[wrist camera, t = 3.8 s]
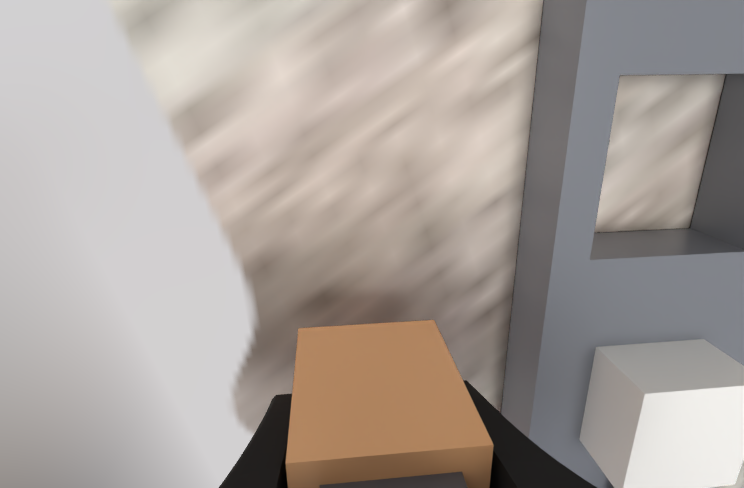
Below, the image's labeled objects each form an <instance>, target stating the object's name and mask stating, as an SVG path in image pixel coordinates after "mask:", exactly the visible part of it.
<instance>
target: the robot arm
mask: <svg viewBox="0 0 744 488" xmlns="http://www.w3.org/2000/svg"><path fill="white" fill-rule="evenodd" d="M463 382H464V384H465V386H466V388H467V390H468V392H469V394H470V396H471V398H472V401H473V403H474V405H475V407H476V409H477V411H478V413H479V415H480V417H481V419H482V422H483V424H484V426H485V428H486V430H487V432H488V434H489V436H490V438H491V440H492V443H493V445H494V446H493V456H492V466H491V476H490V487H489V488H597V487H595V486H594V485H592V484H591V483H589V482H588V481H586V480H584V479H583V478H581V477H580V476H579V475H577V474H576V473H574V472H573V471H571V470H570V469H568V468H567V467H565V466H564V465H563V464H561V463H560V462H558V461H557V460H556V459H554V458H553V457H552V456H550V455H549V454H548V453H546V452H545V451H544V450H543V449H541V448H540V447H539V446H538V445H536V444H535V443H534V442H533V441H531V440H530V439H529V438H528V437H526V436H525V435H524V434H523V433H522V432H521V431H519V430H518V429H517V428H516V427H515V426H514V425H513V424H512V423H511V422H509V421H508V420H507V419H506V418H505V417H504V416H503V415H502V414H501V413H500V412H499V411H497V410H496V409H495V408H494V407H493V406H492V405H491V404H490V403H489V402H488V401H487V400H486V399H485V398H484V397H483V396H482V395H481V394H480V393H479V392H478V391H477V390H476V389H475V388H474V387H473V386H472V385H471V384H469V383H468V382H467V381H463ZM291 401H292V394H284V395H276V396H275V397H274V398H273V399H272V401H271V403H270V406H269V408H268V410H267V412H266V414H265V416H264V418H263V420H262V422H261V423H260V425H259V427H258V429H257V431H256V432H255V434H254V436H253V437H252V439H251V441H250V442H249V444H248V446H247V447H246V449H245V450H244V452H243V454H242V455H241V457H240V458H239V460H238V461H237V463H236V464H235V466H234V467H233V469H232V470H231V471H230V473H229V474H228V476H227V477H226V479H225V480H224V481H223V483H222V484H221V485H220V487H219V488H288V484H287V474H286V453H287V443H288V432H289V422H290V412H291Z"/></svg>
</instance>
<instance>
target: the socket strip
mask: <svg viewBox="0 0 744 488" xmlns="http://www.w3.org/2000/svg"><path fill="white" fill-rule="evenodd" d="M691 74H727V75H726V80H725V84H724V88H723V92H722V96H721V101H720V105H719V109H718V113H717V117H716V122H715V126H714V130H713V134H712V138H711V143H710V147H709V151H708V155H707V159H706V164H705V168H704V172H703V176H702V180H701V185H700V189H699V193H698V197H697V202H696V206H695V210H694V214H693V218H692V223H691V227H690V228H688V229H667V230H646V231H625V232H604V233H594V230H595V224H596V218H597V212H598V206H599V200H600V194H601V188H602V181H603V175H604V169H605V163H606V157H607V151H608V145H609V138H610V132H611V126H612V120H613V114H614V108H615V102H616V95H617V89H618V83H619V77H620V75H691ZM501 414H502V415H503V416H504V417H505V418H506V419H507V420H508V421H509V422H511V423H512V424H513V425H514V426H515V427H516V428H517V429H518V430H519V431H521V432H522V433H523V434H524V435H525V436H526V437H528V438H529V439H530V440H531V441H533V442H534V443H535V444H536V445H538V446H539V447H540V448H541V449H543V450H544V451H545V452H546V453H548V454H549V455H550V456H552V457H553V458H554V459H556V460H557V461H558V462H560V463H561V464H563V465H564V466H565V467H567V468H568V469H570V470H571V471H573V472H574V473H576V474H577V475H579V476H580V477H581V478H583V479H584V480H586V481H588V482H589V483H591V484H592V485H594V486H595V487H597V488H709V487H718V486H727V485H735V483H736V480H737V477H738V474H739V471H740V469H741V466H742V463H743V460H744V0H544V5H543V14H542V24H541V33H540V43H539V53H538V62H537V72H536V81H535V91H534V101H533V110H532V120H531V129H530V139H529V148H528V158H527V168H526V177H525V187H524V196H523V206H522V216H521V225H520V235H519V244H518V254H517V264H516V273H515V283H514V292H513V302H512V312H511V321H510V331H509V340H508V350H507V360H506V369H505V379H504V388H503V398H502V407H501Z"/></svg>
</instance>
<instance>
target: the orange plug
mask: <svg viewBox="0 0 744 488" xmlns="http://www.w3.org/2000/svg"><path fill="white" fill-rule="evenodd" d="M493 446H494V445H493V443H492V440H491V438H490V436H489V434H488V432H487V430H486V428H485V426H484V424H483V422H482V419H481V417H480V415H479V413H478V411H477V409H476V407H475V405H474V403H473V401H472V398H471V396H470V394H469V392H468V390H467V388H466V386H465V384H464V382H463V380H462V378H461V375H460V373H459V371H458V369H457V367H456V365H455V363H454V361H453V359H452V357H451V354H450V352H449V350H448V348H447V346H446V344H445V342H444V340H443V338H442V336H441V333H440V331H439V329H438V327H437V325H436V323H435V321H434V320H423V321H407V322H390V323H374V324H358V325H342V326H326V327H309V328H298V338H297V349H296V359H295V370H294V380H293V391H292V401H291V412H290V422H289V432H288V443H287V453H286V474H287V484H288V488H489V487H490V476H491V466H492V456H493Z"/></svg>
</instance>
